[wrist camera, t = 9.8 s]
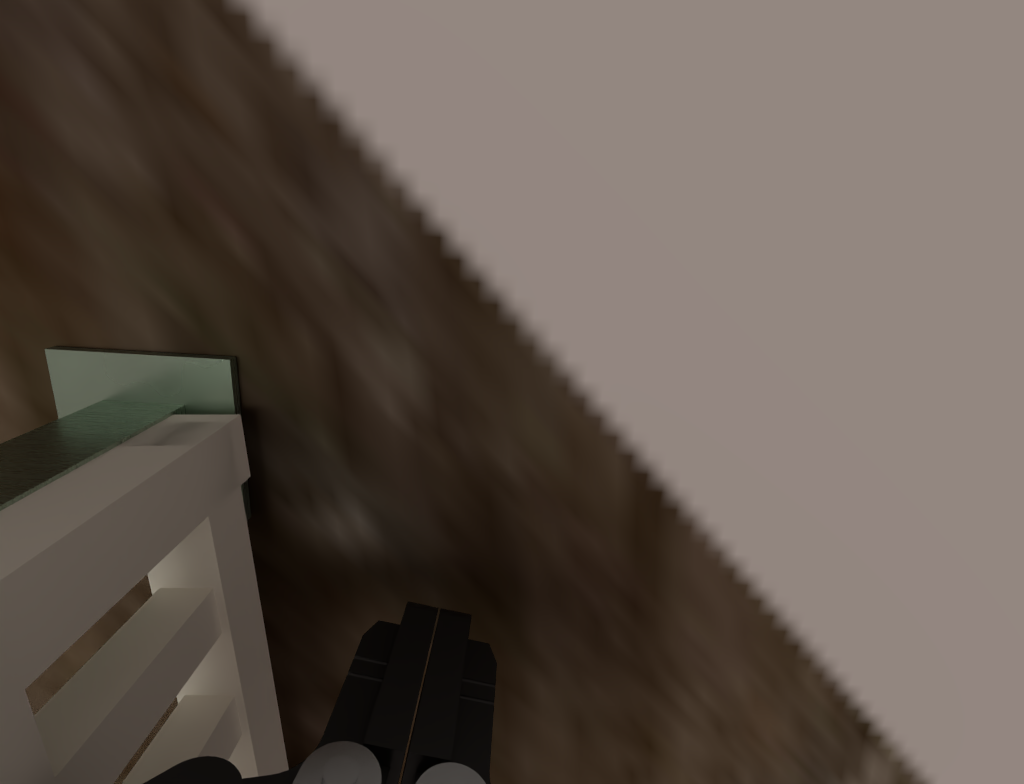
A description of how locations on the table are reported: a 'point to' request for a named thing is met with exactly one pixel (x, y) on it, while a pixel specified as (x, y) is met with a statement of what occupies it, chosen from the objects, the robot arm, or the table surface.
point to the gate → (138, 613)
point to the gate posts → (113, 409)
